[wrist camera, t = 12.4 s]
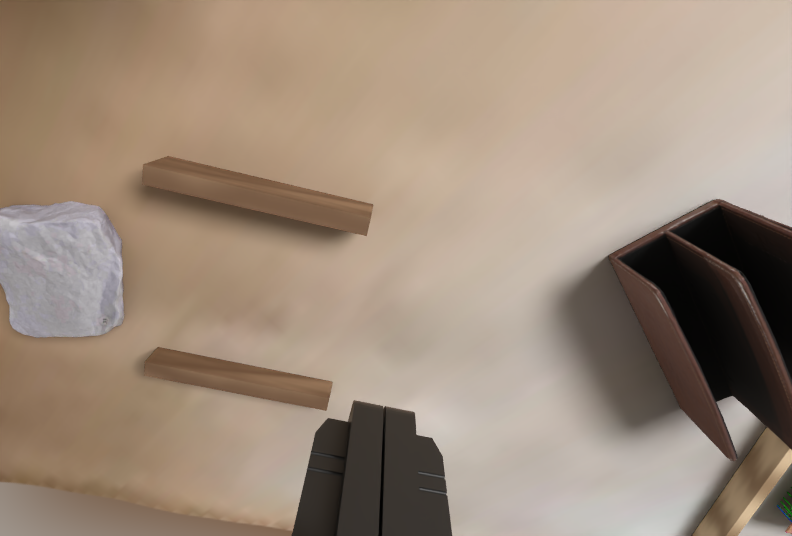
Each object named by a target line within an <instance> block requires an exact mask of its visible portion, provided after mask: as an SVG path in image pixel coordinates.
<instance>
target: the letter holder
mask: <svg viewBox="0 0 792 536" xmlns="http://www.w3.org/2000/svg"><path fill="white" fill-rule="evenodd" d="M608 257H609V260H610V262H611V264H612V266H613V268H614V270H615V272H616V274H617V276H618V278H619V280H620V283H621V285H622V286H623V289H624V291H625V293H626V295H627V297H628V299H629V301H630V304H631V306H632V307H633V310H634V312H635V314H636V316H637V318H638V320H639V322H640V324H641V326H642V328H643V331H644V333H645V335H646V337H647V339H648V341H649V343H650V345H651V348H652V350H653V352H654V354H655V356H656V358H657V360H658V362H659V364H660V367H661V368H662V370H663V372H664V374H665V377H666V379H667V381H668V383H669V385H670V387H671V389H672V390H673V393H674V395H675V397H676V399H677V401H678V403H679V406H680V408H681V409H682V410H683V411H684V412H685V413H686V414H687V415H688V416H689V418H690V419H691V420H692V421H693V422H694V423H695V424H696V425H697V426H698V427H699V428H700V429H701V430H702V432H703V433H704V434H705V435H706V436H707V437H708V438H709V439H710V440H711V441H712V442H713V443H714V444H715V445H716V446H717V447H718V448H719V449H720V450H721V452H722V453H723V454H724V455H725V456H726V457H727V458H729V459H730V460H731V461H736V459H737V458H738V457H737V454H736V451H735V448H734V446H733V443H732V440H731V437H730V434H729V432H728V429H727V427H726V424H725V422H724V419H723V416H722V414H721V412H720V410H719V408H718V405H717V403H716V402H717V401H719V400H722V399H724V398H727V397H730V396H734V397H735V398H736V399H737V400H738V401H740V402H741V403H742V404H743V405H744V406H745V407H746V408H748V409H749V411H751V412H752V413H753V414H754V415H755V416H756V417H757V418H758V419H759V420H760V421H761V422H762V423H764V424H765V425H766V426H767V427H768V428H769V429H770V430H771V431H772V432H773V433H774V434H775V435H776V436H777V437H778V438H780V439H781V440H782V441H783V442H784V443H785V444H786V445H787V446H788V447H789V448H790V449H791V450H792V227H789V226H787V225H784V224H781V223H779V222H776V221H773V220H771V219H768V218H766V217H764V216H761V215H758V214H756V213H753V212H751V211H748V210H745V209H743V208H740V207H738V206H735V205H733V204H730V203H728V202H726V201H724V200H720V199H716V200H713V201H711V202H709V203H707V204H705V205H703V206H701V207H700V208H698V209H696V210H694V211H692V212H690V213H688V214H686V215H684V216H682V217H680V218H679V219H677V220H675V221H673V222H671V223H669V224H667V225H665V226H663V227H661V228H660V229H658V230H655V231H654V232H652V233H650V234H648V235H646V236H644V237H643V238H641V239H638V240H637V241H635V242H633V243H631V244H629V245H627V246H626V247H624V248H622V249H620V250H618V251H616V252H614V253H612V254H611V255H609V256H608Z"/></svg>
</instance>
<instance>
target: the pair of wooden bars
mask: <svg viewBox="0 0 792 536" xmlns="http://www.w3.org/2000/svg"><path fill="white" fill-rule="evenodd" d="M142 185H147V186H151V187H155V188H160V189H164V190H168V191H173V192H177V193H182V194H186V195H190V196H195V197H199V198H203V199H208V200H212V201H216V202H221V203H225V204H229V205H234V206H238V207H243V208H247V209H251V210H256V211H260V212H264V213H269V214H273V215H277V216H282V217H286V218H291V219H295V220H299V221H304V222H308V223H312V224H317V225H321V226H325V227H330V228H334V229H338V230H343V231H347V232H352V233H356V234H360V235H365V236H367V232H368V228H369V223H370V219H371V214H372V208H373V204H369V203H364V202H360V201H356V200H352V199H348V198H343V197H339V196H335V195H331V194H326V193H322V192H318V191H314V190H309V189H305V188H301V187H297V186H292V185H288V184H284V183H280V182H275V181H271V180H267V179H263V178H258V177H254V176H250V175H246V174H242V173H237V172H233V171H229V170H225V169H220V168H216V167H212V166H208V165H203V164H199V163H195V162H191V161H186V160H182V159H178V158H174V157H169V156H167V157H164V158H161V159H158V160H155V161H152V162H149V163H146V164H143V177H142ZM144 376H150V377H155V378H160V379H165V380H170V381H175V382H181V383H186V384H191V385H196V386H201V387H207V388H212V389H217V390H222V391H227V392H232V393H238V394H243V395H248V396H253V397H258V398H263V399H269V400H274V401H279V402H284V403H289V404H295V405H300V406H305V407H310V408H315V409H320V410H327V406H328V402H329V397H330V392H331V388H332V383H333V382H330V381H325V380H320V379H315V378H310V377H305V376H300V375H295V374H290V373H285V372H280V371H275V370H270V369H265V368H260V367H255V366H250V365H245V364H240V363H235V362H230V361H225V360H220V359H215V358H210V357H205V356H200V355H195V354H190V353H185V352H180V351H175V350H170V349H165V348H160V347H158V348H157V349H156V350H155V351H154V352H153V353H152V355H151V356H150V357H149V358H148V359H147V360H146V361H145V370H144Z"/></svg>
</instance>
